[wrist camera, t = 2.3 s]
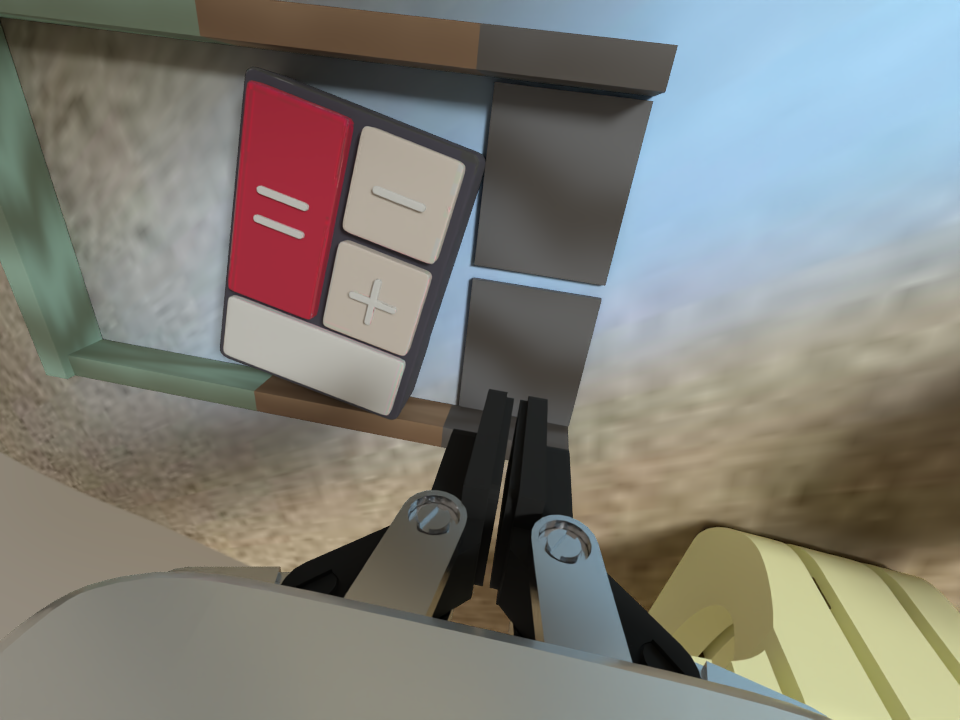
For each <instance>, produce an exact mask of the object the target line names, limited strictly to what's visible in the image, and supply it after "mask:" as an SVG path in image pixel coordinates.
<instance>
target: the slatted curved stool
mask: <svg viewBox="0 0 960 720" xmlns="http://www.w3.org/2000/svg"><path fill="white" fill-rule="evenodd" d="M648 613H649V614H650V615H651V616H652V617H653V618H654V619H655V620H656V621H657V622H658V623H659V624H660V625H661V626H662V627H663V628H664V629H665V630H666V631H667V632H668V633H670V634H671V635H672V636H673V637H674V638H675V639H676V640H677V641H678V642H679V643H680V644H681V645H682V646H683V647H684V649H685V650H686V651H687V652H688V653H689V654H690V656H691V657H692V659H693V660H694V662H696V663H698V664H700V665H703V666H704V664H705V663H706V661H708V662H710V663H713V664H715V665H717V666H719V667H722V668H724V669H726V670H729V671H731V672H733V673H735V674H738V675H740V676H742V677H744V678H747V679H749V680H751V681H754V682H756V683H758V684H760V685H763V686H765V687H767V688H769V689H772V690H774V691H776V692H778V693H781V694H783V695H785V696H788V697H790V698H792V699H794V700H797V701H799V702H801V703H803V704H806V705H808V706H810V707H812V708H814V709H816V710H817V711H819V712H821V713H822V714H824V715H826V716H827V717H828V718H830V719H833V720H960V613H959V612H958V611H957V610H956V608H955V607H954V606H953V605H952V604H951V603H950V602H949V601H948V600H947V598H946V597H945V596H944V595H943V594H942V593H941V592H940V591H939V590H937V589H936V588H935V587H934V586H933V585H931V584H930V583H929V582H927V581H925V580H924V579H922V578H919V577H916V576H913V575H909V574H905V573H901V572H897V571H893V570H889V569H885V568H881V567H878V566H874V565H870V564H866V563H860V562H857V561H853V560H850V559H846V558H843V557H839V556H835V555H831V554H827V553H823V552H819V551H815V550H811V549H807V548H804V547H800V546H796V545H792V544H784V543H782V542H779V541H776V540H772V539H769V538H765V537H761V536H757V535H753V534H749V533H745V532H741V531H737V530H733V529H730V528H723V527H714V528H709V529H706V530H704V531H702V532H700V533H699V534H698V535H697V536H696V537H695V538H694V540H693V542H692V543H691V545H690V546H689V548H688V550H687V551H686V553H685V554H684V556H683V558H682V559H681V561H680V562H679V564H678V566H677V567H676V569H675V570H674V572H673V574H672V575H671V577H670V578H669V580H668V582H667V583H666V585H665V586H664V588H663V590H662V591H661V593H660V594H659V596H658V598H657V599H656V601H655V602H654V604H653V605H652V607H651V609H650V610H649V612H648Z"/></svg>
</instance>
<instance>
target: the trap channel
mask: <svg viewBox="0 0 960 720" xmlns="http://www.w3.org/2000/svg"><path fill="white" fill-rule="evenodd" d="M0 17H4V18H12V19H20V20H28V21H37V22H45V23H53V24H61V25H70V26H78V27H86V28H94V29H102V30H111V31H119V32H127V33H135V34H144V35H152V36H160V37H168V38H176V39H185V40H193V41H201V42H209V43H218V44H226V45H234V46H242V47H251V48H259V49H267V50H275V51H283V52H292V53H300V54H308V55H316V56H325V57H333V58H341V59H349V60H357V61H366V62H374V63H382V64H390V65H399V66H407V67H415V68H423V69H431V70H440V71H448V72H456V73H464V74H473V75H481V76H489V77H497V78H506V79H514V80H522V81H530V82H538V83H547V84H555V85H563V86H571V87H580V88H588V89H596V90H604V91H612V92H621V93H629V94H637V95H645V96H656V95H658V94H661V93H664V92H665V91H666V87H667V84H668V80H669V76H670V72H671V69H672V65H673V61H674V58H675V54H676V50H677V46H678V45H671V44H662V43H653V42H644V41H635V40H626V39H617V38H608V37H599V36H590V35H581V34H572V33H563V32H554V31H545V30H536V29H527V28H518V27H509V26H500V25H491V24H482V23H473V22H464V21H455V20H446V19H437V18H428V17H419V16H410V15H401V14H392V13H383V12H374V11H365V10H356V9H347V8H338V7H329V6H320V5H311V4H302V3H293V2H284V1H275V0H0ZM652 104H653V101H647V100H638V99H630V98H622V97H614V96H606V95H598V94H589V93H581V92H573V91H565V90H557V89H549V88H541V87H532V86H524V85H516V84H508V83H500V82H495V83H494V92H493V101H492V110H491V119H490V128H489V137H488V146H487V155H486V164H485V173H484V182H483V191H482V200H481V209H480V218H479V228H478V237H477V246H476V255H475V264H474V265H479V266H485V267H491V268H498V269H504V270H510V271H516V272H523V273H529V274H535V275H542V276H548V277H554V278H560V279H567V280H573V281H579V282H586V283H592V284H598V285H605V284H606V281H607V277H608V273H609V269H610V265H611V261H612V258H613V254H614V250H615V246H616V242H617V238H618V234H619V231H620V227H621V223H622V219H623V215H624V211H625V208H626V204H627V200H628V196H629V192H630V188H631V184H632V181H633V177H634V173H635V169H636V165H637V161H638V158H639V154H640V150H641V146H642V142H643V138H644V134H645V131H646V127H647V123H648V119H649V115H650V111H651V108H652ZM0 261H1V264H2V266H3V269H4V271H5V274H6V276H7V279H8V281H9V284H10V286H11V289H12V291H13V293H14V296H15V298H16V301H17V303H18V306H19V308H20V311H21V313H22V316H23V318H24V321H25V323H26V325H27V328H28V330H29V333H30V335H31V338H32V340H33V343H34V345H35V348H36V350H37V353H38V355H39V357H40V360H41V362H42V365H43V367H44V370H45V372H46V375H50V376H55V377H60V378H65V379H68V378H70V377H72V376H74V375H76V376H81V377H86V378H91V379H96V380H102V381H107V382H112V383H117V384H122V385H127V386H132V387H137V388H142V389H147V390H153V391H158V392H163V393H168V394H173V395H178V396H183V397H188V398H193V399H199V400H204V401H209V402H214V403H219V404H224V405H229V406H234V407H239V408H244V409H250V410H255V411H260V412H265V413H270V414H275V415H280V416H285V417H290V418H296V419H301V420H306V421H311V422H316V423H321V424H326V425H331V426H336V427H341V428H347V429H352V430H357V431H362V432H367V433H372V434H377V435H382V436H387V437H393V438H398V439H403V440H408V441H413V442H418V443H423V444H428V445H433V446H439V447H444V448H447V445H448V442H449V439H450V436H451V433H452V431H453V429H454V428H455V429H460V430H465V431H471V432H476V433H477V432H478V428H479V424H480V421H481V417H482V413H483V409H484V405H485V402H486V398H487V394H488V390H489V389H493V390H499V391H504V392H508V393H507V397H509V398H514V403H513V410H512V416H511V423H510V429H509V436H508V442H507V449H506V455H505V460H509V457H510V451H511V446H512V441H513V435H514V430H515V425H516V419H517V414H518V409H519V403H520V400H526V401H527V400H528V396H532V397H538V398H543V399H548V416H547V446H550V447H556V448H561V449H566V450H569V448H568V426H569V423H570V419H571V415H572V411H573V408H574V404H575V400H576V396H577V392H578V388H579V385H580V381H581V377H582V373H583V369H584V365H585V361H586V358H587V354H588V350H589V346H590V342H591V338H592V335H593V331H594V327H595V323H596V319H597V315H598V311H599V308H600V304H601V298H598V297H591V296H585V295H579V294H573V293H567V292H560V291H554V290H548V289H542V288H536V287H529V286H523V285H517V284H511V283H505V282H498V281H492V280H486V279H480V278H473V282H472V291H471V300H470V309H469V318H468V327H467V336H466V345H465V354H464V363H463V372H462V381H461V390H460V399H459V406H457V405H451V404H446V403H441V402H435V401H430V400H425V399H419V398H414V397H409V399H408V401H407V402H406V404H405V406H404V407H403V409H402V411H401V413H400V414H399V416H398V417H397V418H396V419H394V420H389V419H386V418H383V417H381V416H378V415H376V414H373V413H370V412H368V411H365V410H363V409H360V408H357V407H355V406H352V405H349V404H347V403H344V402H342V401H339V400H336V399H334V398H331V397H329V396H326V395H323V394H321V393H318V392H315V391H313V390H310V389H308V388H305V387H302V386H300V385H297V384H295V383H292V382H289V381H287V380H284V379H281V378H279V377H276V376H274V375H271V374H268V373H266V372H263V371H261V370H258V369H255V368H253V367H248V366H243V365H238V364H232V363H227V362H222V361H216V360H211V359H206V358H200V357H195V356H190V355H184V354H179V353H174V352H168V351H163V350H157V349H152V348H147V347H141V346H136V345H131V344H125V343H120V342H115V341H109V340H104V339H102V336H101V333H100V330H99V327H98V324H97V321H96V318H95V314H94V311H93V308H92V305H91V302H90V299H89V296H88V293H87V290H86V287H85V283H84V280H83V277H82V274H81V271H80V268H79V265H78V262H77V259H76V256H75V252H74V249H73V246H72V243H71V240H70V237H69V234H68V231H67V228H66V225H65V221H64V218H63V215H62V212H61V209H60V206H59V203H58V200H57V197H56V194H55V190H54V187H53V184H52V181H51V178H50V175H49V172H48V169H47V166H46V163H45V159H44V156H43V153H42V150H41V147H40V144H39V141H38V138H37V135H36V132H35V128H34V125H33V122H32V119H31V116H30V113H29V110H28V107H27V104H26V101H25V97H24V94H23V91H22V88H21V85H20V82H19V79H18V76H17V73H16V70H15V66H14V63H13V60H12V57H11V54H10V51H9V48H8V45H7V42H6V39H5V35H4V32H3V29H2V26H1V23H0Z"/></svg>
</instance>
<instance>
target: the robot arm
mask: <svg viewBox="0 0 960 720" xmlns="http://www.w3.org/2000/svg"><path fill="white" fill-rule="evenodd" d="M507 393H508V392H504V391H499V390H493V389H489V390H488V394H487V398H486V402H485V405H484V409H483V413H482V417H481V421H480V424H479V428H478V432H477V433H476V432H471V431H465V430H460V429H455V428H454V429H453V431H452V433H451V436H450V439H449V442H448V445H447V448H446V450H445V453H444V456H443V459H442V462H441V465H440V467H439V470H438V473H437V476H436V479H435V482H434V484H433V487H432V490H429V491H424V492H420V493H417V494H415V495H414V496H412V497H410V498H409V499H408V500H407V501H406V502H405V503H404V505H403V506H402V508H401V509H400V511H399V513H398V514H397V516H396V517H395V519H394V520H393V522H392V523H391V525H390V526H388V527H386V528H383V529H381V530H379V531H376V532H374V533H372V534H370V535H367V536H365V537H363V538H360V539H358V540H356V541H354V542H351V543H349V544H347V545H344V546H342V547H340V548H338V549H335V550H333V551H331V552H328V553H326V554H324V555H322V556H319V557H317V558H315V559H312V560H310V561H308V562H306V563H304V564H302V565H300V566H299V567H297V568H295V569H294V570H293V571H292V572H281V569H280V567H184V568H178V569H173V570H171V571H168V572H152V573H145V574H137V575H130V576H123V577H118V578H114V579H110V580H105V581H102V582H98V583H95V584H91V585H88V586H85V587H83V588H80V589H78V590H75V591H73V592H71V593H69V594H67V595H65V596H63V597H61V598H60V599H57V600H56V601H54V602H52V603H51V604H49V605H48V606H46V607H45V608H43V609H41V610H40V611H38V612H37V613H35V614H34V615H33V616H31V617H30V618H29V619H27V620H26V621H25V622H23V623H21V624H20V625H19V626H18V627H16V628H15V629H14V630H13V631H11V632H10V633H9V634H7V635H6V636H5V637H4V638H2V639H1V640H0V720H833V719H830V718H828V717H827V716H826V715H824V714H822V713H821V712H819V711H817V710H816V709H814V708H812V707H810V706H808V705H806V704H803V703H801V702H799V701H797V700H794V699H792V698H790V697H788V696H785V695H783V694H781V693H778V692H776V691H774V690H772V689H769V688H767V687H765V686H763V685H760V684H758V683H756V682H754V681H751V680H749V679H747V678H744V677H742V676H740V675H738V674H735V673H733V672H731V671H729V670H726V669H724V668H722V667H719V666H717V665H715V664H713V663H710V662H708V661H706V663H705V664H704V666H703V665H700V664H698V663H696V662H694V660H693V659H692V657H691V656H690V654H689V653H688V652H687V651H686V650H685V649H684V647H683V646H682V645H681V644H680V643H679V642H678V641H677V640H676V639H675V638H674V637H673V636H672V635H671V634H670V633H668V632H667V631H666V630H665V629H664V628H663V627H662V626H661V625H660V624H659V623H658V622H657V621H656V620H655V619H654V618H653V617H652V616H651V615H650V614H649V613H648V612H647V611H646V610H645V609H644V608H643V607H642V606H641V605H639V604H638V603H637V602H636V601H635V600H634V599H633V598H632V597H631V596H630V595H629V594H628V593H627V592H626V591H625V590H624V589H623V588H622V587H621V586H620V585H619V584H618V583H617V582H616V581H615V580H614V579H613V578H612V577H610V576H609V575H608V574H607V573H606V569H605V566H604V562H603V559H602V555H601V552H600V548H599V545H598V542H597V540H596V538H595V536H594V534H593V533H592V532H591V531H590V530H589V528H588V527H586V526H585V525H584V524H582V523H581V522H580V521H578V520H575V519H573V513H572V493H571V473H570V454H569V450H566V449H561V448H556V447H550V446H547V416H548V399H543V398H538V397H532V396H528V400H527V401H526V400H520V403H519V409H518V414H517V419H516V425H515V430H514V435H513V441H512V446H511V451H510V457H509V462H508V467H507V472H506V478H505V484H504V491H503V498H502V505H501V512H500V519H499V526H498V533H497V539H496V546H495V553H494V560H493V567H492V574H491V581H490V588H493V589H498V593H497V601H496V604H497V605H499V606H500V607H501V609H502V610H503V611H504V613H505V614H506V615H507V616H508V618H509V619H510V623H509V634H504V633H500V632H495V631H491V630H486V629H482V628H477V627H473V626H469V625H464V624H460V623H455V622H451V620H452V617H453V612H454V608H456V607H457V606H459V605H461V604H462V603H464V602H466V601H467V600H469V599H471V596H472V591H473V585H474V584H475V585H479V586H483V581H484V575H485V570H486V564H487V559H488V553H489V548H490V542H491V537H492V532H493V526H494V521H495V515H496V510H497V504H498V499H499V493H500V487H501V481H502V474H503V468H504V462H505V455H506V449H507V442H508V436H509V429H510V423H511V416H512V410H513V403H514V398H509V397H507Z"/></svg>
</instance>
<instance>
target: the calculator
mask: <svg viewBox="0 0 960 720" xmlns="http://www.w3.org/2000/svg"><path fill="white" fill-rule="evenodd" d="M485 164H486V159H485V157H484V156H483V155H482V154H480V153H478V152H476V151H474V150H471V149H468V148H466V147H463V146H461V145H458V144H456V143H453V142H451V141H448V140H446V139H443V138H441V137H438V136H436V135H433V134H431V133H428V132H426V131H423V130H421V129H418V128H416V127H413V126H410V125H408V124H405V123H403V122H400V121H398V120H395V119H393V118H390V117H388V116H385V115H383V114H380V113H378V112H375V111H373V110H370V109H368V108H365V107H363V106H360V105H358V104H355V103H352V102H350V101H347V100H345V99H342V98H340V97H337V96H335V95H332V94H330V93H327V92H325V91H322V90H320V89H317V88H315V87H312V86H310V85H307V84H305V83H302V82H300V81H297V80H294V79H292V78H289V77H286V76H283V75H280V74H277V73H274V72H271V71H267V70H264V69H261V68H257V67H250V68H249V69H248V70H247V71H246V74H245V81H244V92H243V103H242V114H241V124H240V135H239V146H238V157H237V168H236V179H235V190H234V200H233V211H232V222H231V233H230V244H229V255H228V266H227V277H226V287H225V298H224V309H223V320H222V331H221V342H220V351H221V353H222V355H223V356H225V357H227V358H229V359H232V360H234V361H237V362H240V363H242V364H245V365H247V366H250V367H253V368H255V369H258V370H261V371H263V372H266V373H268V374H271V375H274V376H276V377H279V378H281V379H284V380H287V381H289V382H292V383H295V384H297V385H300V386H302V387H305V388H308V389H310V390H313V391H315V392H318V393H321V394H323V395H326V396H329V397H331V398H334V399H336V400H339V401H342V402H344V403H347V404H349V405H352V406H355V407H357V408H360V409H363V410H365V411H368V412H370V413H373V414H376V415H378V416H381V417H383V418H386V419H389V420H394V419H396V418H397V417H398V416H399V414H400V413H401V411H402V409H403V407H404V406H405V404H406V402H407V401H408V399H409V397H410V395H411V394H412V392H413V390H414V387H415V384H416V381H417V378H418V375H419V372H420V369H421V366H422V363H423V360H424V357H425V353H426V350H427V347H428V344H429V340H430V336H431V333H432V330H433V327H434V324H435V321H436V318H437V315H438V312H439V309H440V306H441V302H442V299H443V296H444V293H445V290H446V287H447V284H448V281H449V278H450V275H451V272H452V269H453V266H454V263H455V260H456V257H457V254H458V251H459V248H460V245H461V242H462V239H463V236H464V233H465V230H466V227H467V224H468V220H469V217H470V214H471V211H472V208H473V205H474V202H475V199H476V196H477V193H478V190H479V187H480V184H481V181H482V177H483V174H484V171H485Z"/></svg>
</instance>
